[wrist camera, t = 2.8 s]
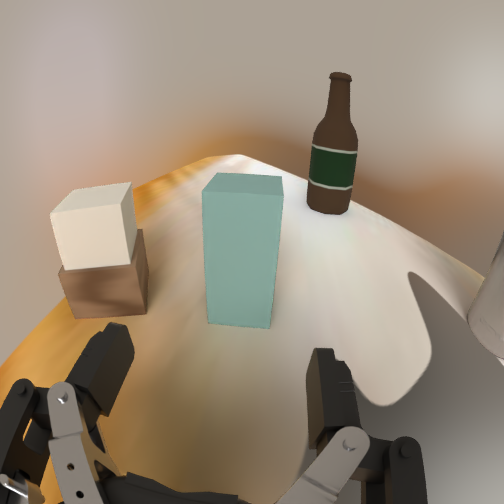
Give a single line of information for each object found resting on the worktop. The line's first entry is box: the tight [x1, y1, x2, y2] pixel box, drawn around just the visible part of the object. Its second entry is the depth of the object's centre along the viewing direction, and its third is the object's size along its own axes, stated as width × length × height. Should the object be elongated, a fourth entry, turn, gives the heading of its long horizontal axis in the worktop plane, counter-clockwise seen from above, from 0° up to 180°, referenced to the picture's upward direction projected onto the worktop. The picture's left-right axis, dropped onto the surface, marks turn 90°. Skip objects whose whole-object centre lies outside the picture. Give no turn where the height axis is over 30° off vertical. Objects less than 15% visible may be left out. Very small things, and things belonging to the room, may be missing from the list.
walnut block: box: [58, 229, 149, 319], centre depth 23 cm, size 7×7×5 cm
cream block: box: [50, 182, 137, 270], centre depth 21 cm, size 6×6×5 cm
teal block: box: [202, 173, 284, 329], centre depth 21 cm, size 5×5×11 cm
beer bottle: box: [307, 72, 358, 215], centre depth 42 cm, size 8×8×24 cm
